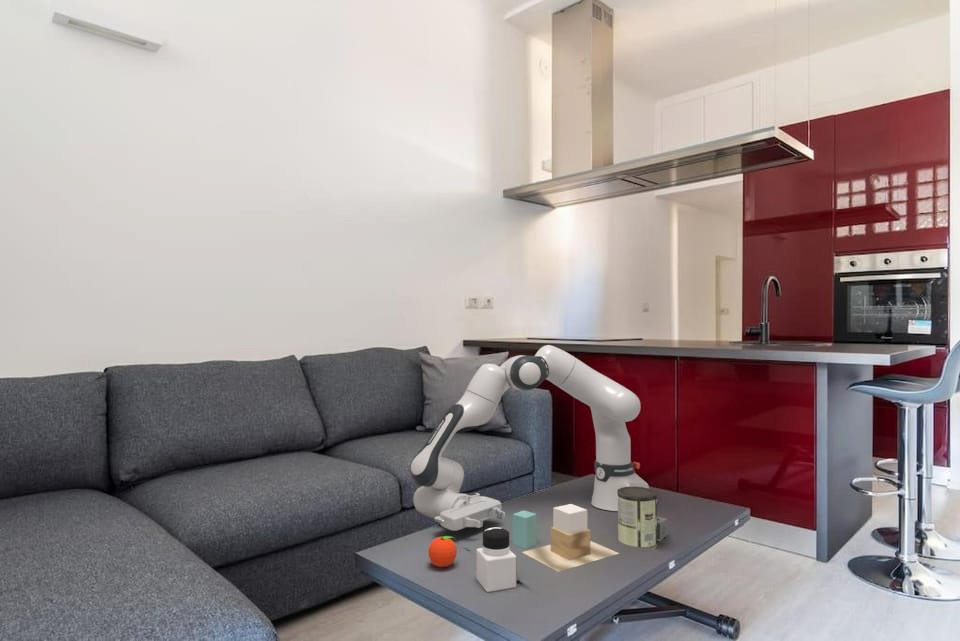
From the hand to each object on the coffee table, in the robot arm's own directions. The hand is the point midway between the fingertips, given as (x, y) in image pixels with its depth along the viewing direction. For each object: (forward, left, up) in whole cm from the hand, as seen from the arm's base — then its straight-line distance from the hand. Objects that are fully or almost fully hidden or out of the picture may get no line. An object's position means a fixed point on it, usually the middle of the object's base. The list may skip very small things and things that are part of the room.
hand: (492, 520), depth 157 cm
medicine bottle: (+15, +24, -5) cm, 29 cm away
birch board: (-9, +22, -5) cm, 24 cm away
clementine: (+20, +9, -5) cm, 23 cm away
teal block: (-3, +11, -5) cm, 12 cm away
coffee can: (-30, +25, -5) cm, 39 cm away
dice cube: (-38, +24, -5) cm, 45 cm away
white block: (-9, +22, +2) cm, 24 cm away
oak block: (-9, +22, -4) cm, 24 cm away
